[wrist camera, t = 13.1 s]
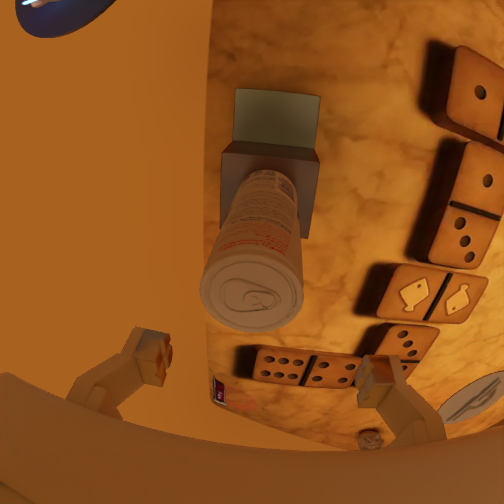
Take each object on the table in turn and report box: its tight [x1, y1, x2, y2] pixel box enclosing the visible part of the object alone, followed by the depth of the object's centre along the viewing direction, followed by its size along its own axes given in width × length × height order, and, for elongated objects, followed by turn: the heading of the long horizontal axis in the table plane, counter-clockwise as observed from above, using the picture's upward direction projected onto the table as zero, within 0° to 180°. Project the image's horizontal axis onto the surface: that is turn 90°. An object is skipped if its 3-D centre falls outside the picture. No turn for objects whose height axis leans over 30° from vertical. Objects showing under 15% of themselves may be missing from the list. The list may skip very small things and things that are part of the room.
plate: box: [437, 371, 504, 424], centre depth 63 cm, size 28×28×1 cm
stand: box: [220, 88, 320, 239], centre depth 32 cm, size 14×9×11 cm, turn 176°
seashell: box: [358, 430, 384, 450], centre depth 70 cm, size 9×7×8 cm
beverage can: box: [200, 170, 304, 332], centre depth 22 cm, size 6×6×15 cm
